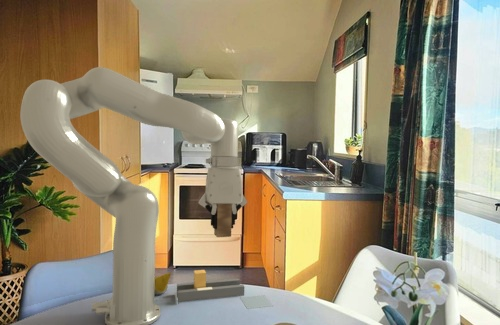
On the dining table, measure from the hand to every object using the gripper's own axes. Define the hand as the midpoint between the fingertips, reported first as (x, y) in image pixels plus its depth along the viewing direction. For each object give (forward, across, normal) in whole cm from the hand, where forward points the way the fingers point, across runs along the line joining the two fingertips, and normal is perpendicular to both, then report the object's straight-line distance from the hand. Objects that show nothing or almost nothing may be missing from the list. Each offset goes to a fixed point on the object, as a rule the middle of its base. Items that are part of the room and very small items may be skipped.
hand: (222, 227), depth 93 cm
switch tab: (+17, -6, 0) cm, 18 cm away
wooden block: (+2, 0, 0) cm, 2 cm away
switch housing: (+19, -3, 0) cm, 19 cm away
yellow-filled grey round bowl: (+19, -16, +5) cm, 26 cm away
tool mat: (+19, +8, -8) cm, 22 cm away
